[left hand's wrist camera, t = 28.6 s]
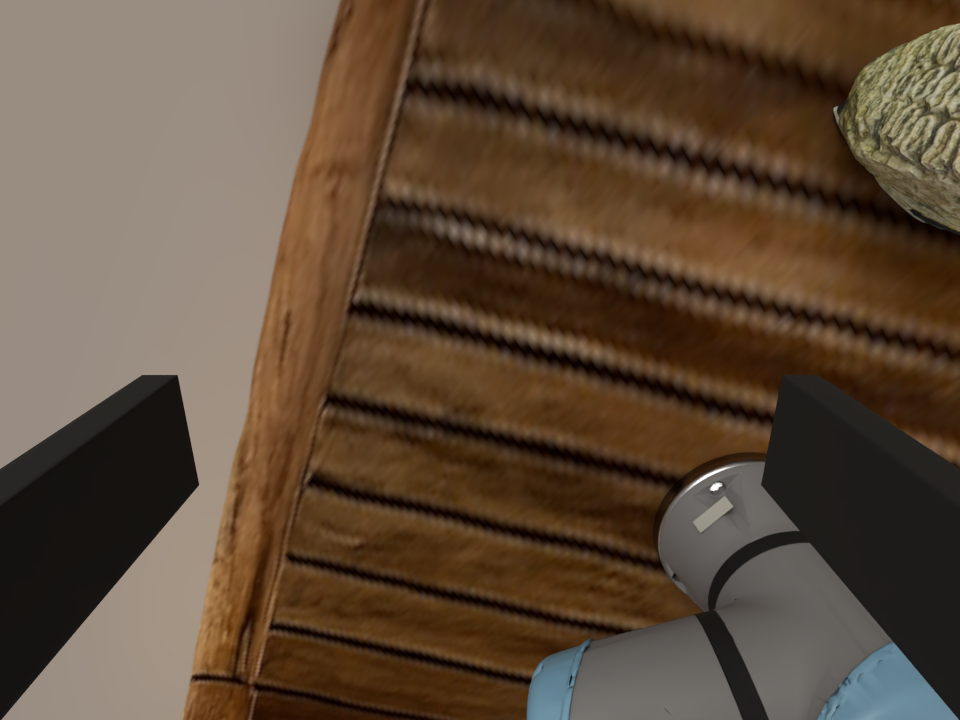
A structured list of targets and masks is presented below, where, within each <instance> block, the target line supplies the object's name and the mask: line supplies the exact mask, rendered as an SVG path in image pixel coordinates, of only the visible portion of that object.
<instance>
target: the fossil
mask: <svg viewBox="0 0 960 720" xmlns="http://www.w3.org/2000/svg"><path fill="white" fill-rule="evenodd" d="M834 114H835V117H836V121H837V124H838V126H839V128H840V131H841V132H842V134H843V136H844V138H845V140H846V142H847V144H848V146H849V148H850V150H851V152H852V154H853V156H854V158H855V159H856V160H857V161H858V162H859V163H861V164H862V165H863V166H864V167H865V168H866V169H867V170H868V171H869V172H870V173H872V174H873V175H874V177H875V179H876V180H877V182H878V183H879V185H880V186H881V188H882V189H883V190H884V191H885V192H886V193H887V194H889V195H890V196H891V197H892V198H893V199H894V200H895V201H896V202H897V203H898V204H899V205H900V206H901V207H902V208H903V209H905V210H906V211H907V212H908V213H909V214H911V215H912V216H913V217H915V218H916V219H918V220H920V221H922V222H924V223H927V224H931V225H933V226H935V227H937V228H940V229H943V230H948V231H950V232H952V233H955V234H960V23H959V24H956V25H948V26H945V27H941V28H939V29H938V30H934V31H931V32H930V33H928V34H925V35H922V36H920V37H918V38H916V39H914V40H912V41H910V42H908V43H905V44H902V45H900V46H898V47H896V48H894V49H892V50H890V51H888V52H887V53H886V54H884V55H883V56H881V57H877V58H876V59H875V60H873V61H872V62H871V63H869V64H868V65H867V66H865V67H864V68H863V69H862V70H861V71H860V73H859V74H858V76H857V77H856V79H855V81H854V84H853V86H852V88H851V91H850V93H849V97H848V98H847V99H846V100H845V102H844V103H843V104H841V105H839V106H837V107H835V108H834Z"/></svg>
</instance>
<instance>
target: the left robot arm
mask: <svg viewBox="0 0 960 720" xmlns="http://www.w3.org/2000/svg"><path fill="white" fill-rule="evenodd" d="M198 486H199V482H198V477H197V472H196V467H195V462H194V456H193V452H192V446H191V441H190V436H189V431H188V426H187V421H186V416H185V411H184V406H183V401H182V396H181V391H180V385H179V380H178V376H177V375H142V376H140V377H139V378H137V379H136V380H134V381H133V382H131V383H130V384H128V385H127V386H125V387H124V388H122V389H121V390H119V391H118V392H116V393H115V394H113V395H112V396H110V397H109V398H107V399H105V400H104V401H102V402H101V403H100V404H98V405H96V406H95V407H93V408H92V409H90V410H89V411H87V412H86V413H84V414H83V415H81V416H80V417H78V418H77V419H75V420H74V421H72V422H71V423H69V424H68V425H66V426H65V427H63V428H62V429H60V430H59V431H57V432H56V433H54V434H53V435H51V436H50V437H48V438H47V439H45V440H44V441H42V442H41V443H39V444H37V445H36V446H34V447H33V448H32V449H30V450H28V451H27V452H25V453H24V454H22V455H21V456H19V457H18V458H16V459H15V460H13V461H12V462H10V463H9V464H7V465H6V466H4V467H3V468H1V469H0V720H1V719H2V718H3V717H4V716H5V715H6V713H7V712H8V711H9V710H10V709H11V707H12V706H13V705H14V704H15V703H16V702H17V700H18V699H19V698H20V697H21V696H22V694H23V693H24V692H25V691H26V690H27V688H28V687H29V686H30V685H31V684H32V683H33V681H34V680H35V679H36V678H37V677H38V675H39V674H40V673H41V672H42V671H43V670H44V668H45V667H46V666H47V665H48V664H49V662H50V661H51V660H52V659H53V658H54V656H55V655H56V654H57V653H58V652H59V650H60V649H61V648H62V647H63V646H64V645H65V643H66V642H67V641H68V640H69V639H70V637H71V636H72V635H73V634H74V633H75V632H76V630H77V629H78V628H79V627H80V626H81V624H82V623H83V622H84V621H85V620H86V618H87V617H88V616H89V615H90V614H91V613H92V611H93V610H94V609H95V608H96V607H97V605H98V604H99V603H100V602H101V601H102V600H103V598H104V597H105V596H106V595H107V594H108V592H109V591H110V590H111V589H112V588H113V586H114V585H115V584H116V583H117V582H118V581H119V579H120V578H121V577H122V576H123V575H124V573H125V572H126V571H127V570H128V569H129V567H130V566H131V565H132V564H133V563H134V562H135V560H136V559H137V558H138V557H139V556H140V554H141V553H142V552H143V551H144V550H145V549H146V547H147V546H148V545H149V544H150V543H151V541H152V540H153V539H154V538H155V537H156V535H157V534H158V533H159V532H160V531H161V530H162V528H163V527H164V526H165V525H166V524H167V522H168V521H169V520H170V519H171V518H172V516H173V515H174V514H175V513H176V512H177V511H178V509H179V508H180V507H181V506H182V505H183V503H184V502H185V501H186V500H187V499H188V497H189V496H190V495H191V494H192V493H193V492H194V490H195V489H196V488H197V487H198ZM654 544H655V548H656V551H657V554H658V556H659V558H660V561H661V563H662V565H663V567H664V570H665V571H666V573H667V575H668V576H669V578H670V579H671V581H672V582H673V583H674V584H675V585H676V586H677V587H678V588H679V589H681V590H682V591H683V592H684V593H685V594H687V595H688V596H689V598H690V599H691V600H692V601H693V602H694V603H696V604H697V605H698V606H699V607H700V608H701V609H702V610H703V611H704V612H703V613H700V614H696V615H690V616H687V617H683V618H679V619H676V620H672V621H668V622H665V623H661V624H657V625H653V626H650V627H646V628H642V629H638V630H634V631H630V632H626V633H622V634H618V635H614V636H610V637H606V638H602V639H598V640H595V639H588V640H586V641H585V642H584V643H582V644H581V645H579V646H576V647H574V648H571V649H568V650H564V651H561V652H558V653H555V654H552V655H550V656H548V657H546V658H545V659H543V660H542V661H541V662H540V664H539V665H538V666H537V668H536V670H535V672H534V674H533V677H532V681H531V684H530V688H529V694H528V704H527V720H960V469H959V468H957V467H956V466H954V465H953V464H951V463H950V462H948V461H947V460H945V459H944V458H942V457H941V456H939V455H938V454H936V453H935V452H933V451H932V450H930V449H929V448H927V447H926V446H924V445H923V444H921V443H919V442H918V441H916V440H915V439H913V438H912V437H910V436H909V435H907V434H906V433H904V432H903V431H901V430H900V429H898V428H897V427H895V426H894V425H892V424H891V423H889V422H888V421H886V420H885V419H883V418H882V417H880V416H879V415H877V414H876V413H874V412H873V411H871V410H870V409H868V408H867V407H865V406H864V405H862V404H861V403H859V402H858V401H856V400H855V399H853V398H851V397H850V396H848V395H847V394H845V393H844V392H842V391H841V390H839V389H838V388H836V387H835V386H833V385H832V384H830V383H829V382H827V381H826V380H824V379H823V378H821V377H820V376H818V375H782V380H781V385H780V390H779V395H778V401H777V406H776V411H775V416H774V421H773V426H772V431H771V436H770V441H769V446H768V451H767V454H763V453H738V454H731V455H726V456H723V457H719V458H716V459H714V460H711V461H708V462H706V463H704V464H702V465H700V466H698V467H697V468H695V469H693V470H692V471H690V472H689V473H687V474H686V475H685V476H684V477H682V478H681V479H680V480H679V481H678V482H677V483H676V484H675V485H674V486H673V487H672V488H671V490H670V491H669V492H668V493H667V495H666V496H665V498H664V499H663V501H662V503H661V505H660V507H659V509H658V512H657V515H656V518H655V523H654Z"/></svg>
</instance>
